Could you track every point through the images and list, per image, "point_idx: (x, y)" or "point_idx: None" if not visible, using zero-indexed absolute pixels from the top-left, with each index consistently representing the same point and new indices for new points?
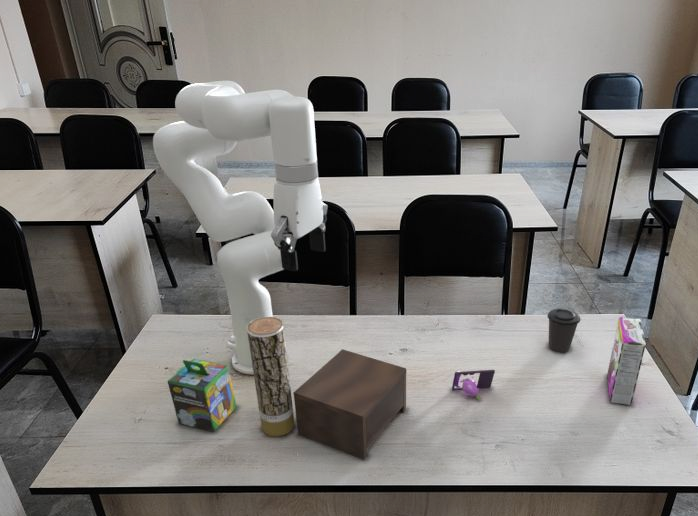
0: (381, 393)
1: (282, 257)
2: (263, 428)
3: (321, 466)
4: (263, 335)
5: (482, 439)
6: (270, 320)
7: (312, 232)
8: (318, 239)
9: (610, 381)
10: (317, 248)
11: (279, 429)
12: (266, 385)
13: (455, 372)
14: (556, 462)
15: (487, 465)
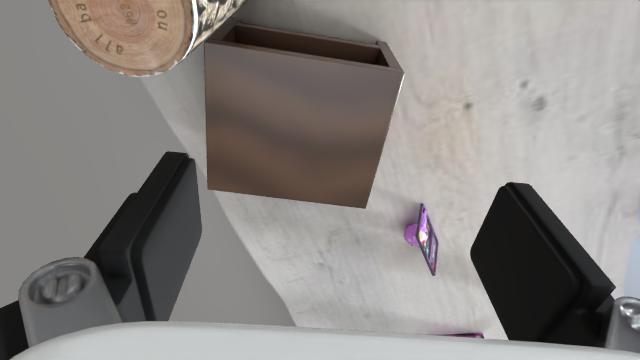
0: (278, 195)
1: (102, 234)
2: None
3: (185, 90)
4: (72, 36)
5: (326, 251)
6: (165, 8)
7: (559, 308)
8: (512, 298)
9: None
10: (487, 237)
11: None
12: None
13: (417, 237)
14: (316, 307)
15: (285, 261)
